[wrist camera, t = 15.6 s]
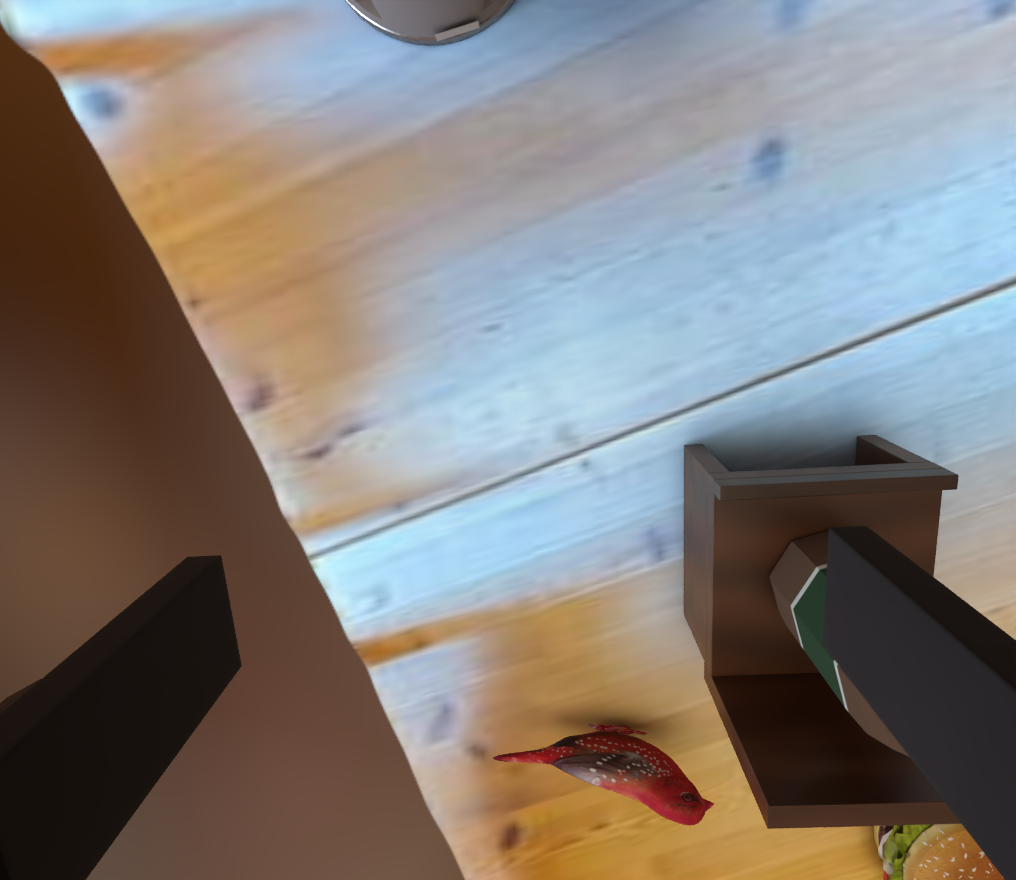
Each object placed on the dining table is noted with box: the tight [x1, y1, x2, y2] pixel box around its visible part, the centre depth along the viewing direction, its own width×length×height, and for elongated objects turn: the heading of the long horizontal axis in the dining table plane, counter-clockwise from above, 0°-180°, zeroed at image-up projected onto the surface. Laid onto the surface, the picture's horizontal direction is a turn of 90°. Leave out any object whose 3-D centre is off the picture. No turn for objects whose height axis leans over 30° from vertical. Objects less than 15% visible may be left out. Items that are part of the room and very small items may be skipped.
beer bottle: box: [770, 531, 909, 757], centre depth 34 cm, size 8×8×24 cm
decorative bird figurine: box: [493, 724, 714, 825], centre depth 55 cm, size 3×18×10 cm, turn 82°
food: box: [874, 824, 1005, 880], centre depth 57 cm, size 14×14×8 cm
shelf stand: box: [684, 435, 961, 829], centre depth 45 cm, size 16×15×21 cm
